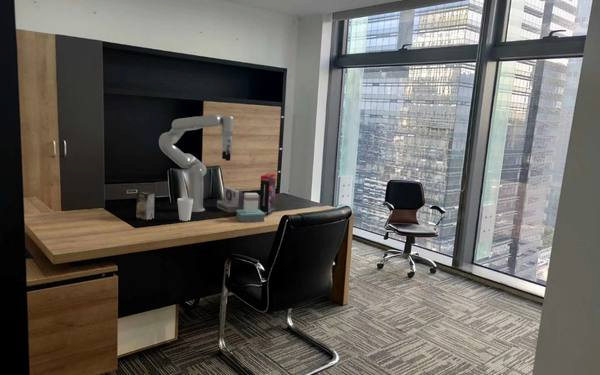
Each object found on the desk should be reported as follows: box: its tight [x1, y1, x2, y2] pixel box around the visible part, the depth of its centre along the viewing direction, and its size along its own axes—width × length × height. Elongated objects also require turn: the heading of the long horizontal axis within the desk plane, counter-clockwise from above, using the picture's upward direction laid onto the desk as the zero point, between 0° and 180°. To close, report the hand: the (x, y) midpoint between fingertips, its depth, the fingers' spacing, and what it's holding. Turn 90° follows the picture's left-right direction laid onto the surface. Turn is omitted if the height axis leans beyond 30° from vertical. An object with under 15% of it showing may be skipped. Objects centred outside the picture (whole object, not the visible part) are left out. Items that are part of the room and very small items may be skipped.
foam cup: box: [176, 197, 193, 222], centre depth 273 cm, size 10×9×13 cm
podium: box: [235, 209, 266, 223], centre depth 285 cm, size 16×13×5 cm
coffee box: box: [135, 190, 155, 221], centre depth 270 cm, size 9×6×16 cm
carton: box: [243, 192, 260, 213], centre depth 284 cm, size 6×8×12 cm
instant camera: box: [216, 186, 244, 214], centre depth 313 cm, size 21×21×15 cm
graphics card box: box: [259, 172, 277, 216], centre depth 305 cm, size 17×7×27 cm, turn 168°
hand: (226, 159), depth 296 cm, fingers open, 9 cm apart
